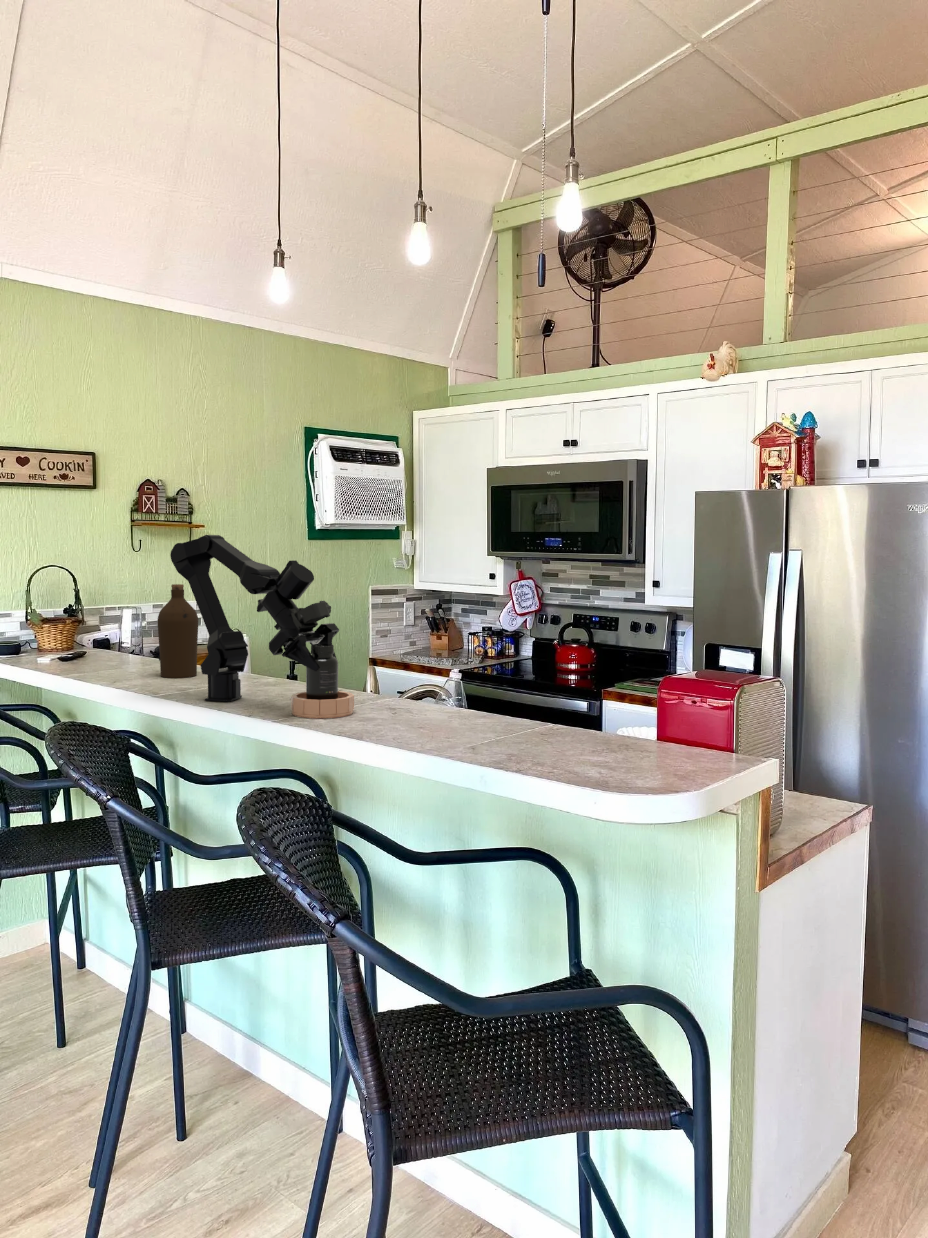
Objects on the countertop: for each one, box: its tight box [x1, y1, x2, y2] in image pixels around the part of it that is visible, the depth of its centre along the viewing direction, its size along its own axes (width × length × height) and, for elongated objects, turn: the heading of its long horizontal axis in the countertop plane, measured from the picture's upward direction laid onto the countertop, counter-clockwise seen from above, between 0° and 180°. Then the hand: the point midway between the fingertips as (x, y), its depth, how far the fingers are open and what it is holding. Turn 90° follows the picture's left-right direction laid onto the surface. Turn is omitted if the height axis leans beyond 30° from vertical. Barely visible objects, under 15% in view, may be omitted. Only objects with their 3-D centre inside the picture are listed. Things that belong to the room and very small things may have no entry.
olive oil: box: [157, 583, 199, 679], centre depth 245 cm, size 11×11×25 cm
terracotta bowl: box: [290, 690, 355, 719], centre depth 194 cm, size 13×13×4 cm
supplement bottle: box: [305, 643, 339, 700], centre depth 193 cm, size 7×7×12 cm
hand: (327, 667), depth 193 cm, fingers closed on supplement bottle, 7 cm apart
